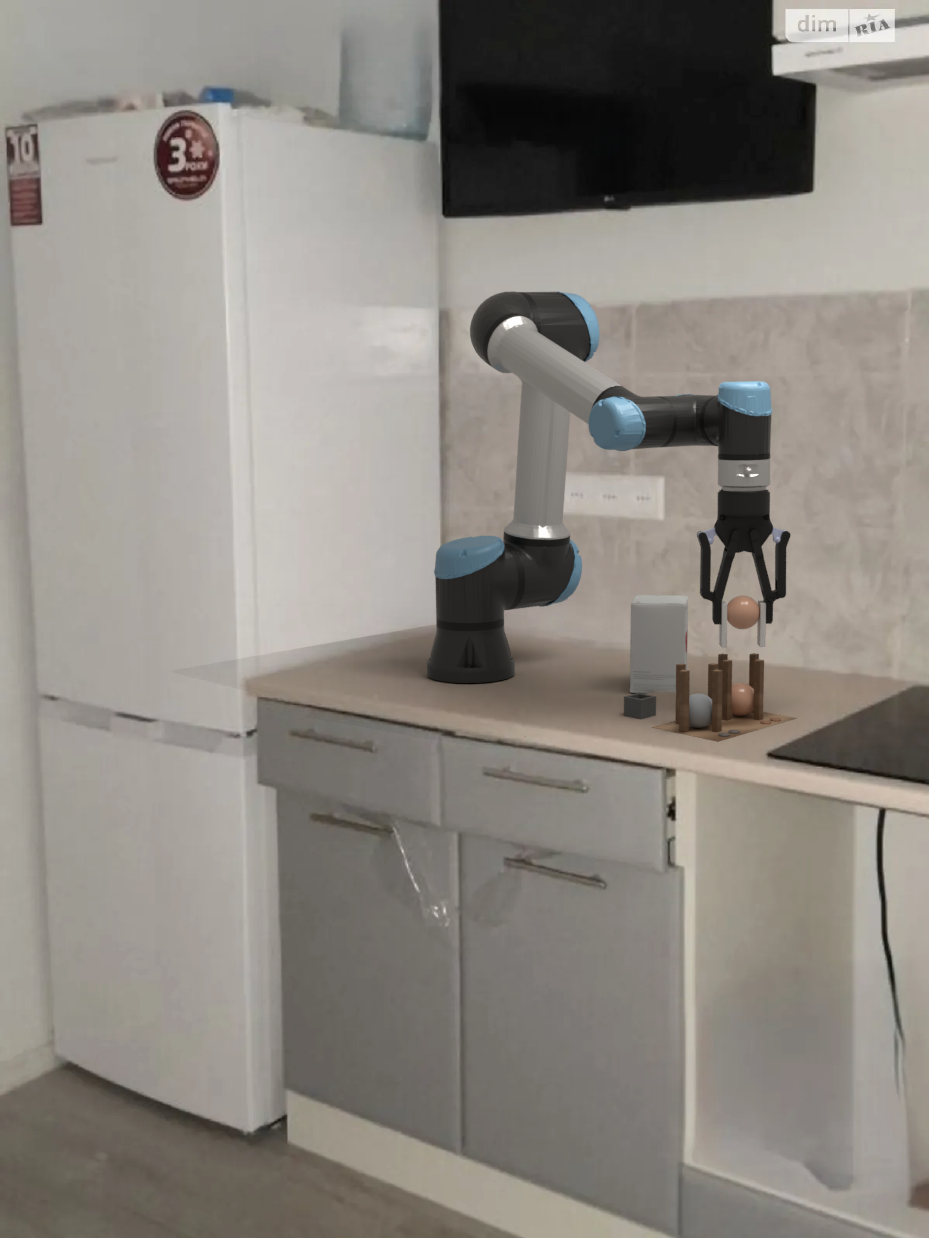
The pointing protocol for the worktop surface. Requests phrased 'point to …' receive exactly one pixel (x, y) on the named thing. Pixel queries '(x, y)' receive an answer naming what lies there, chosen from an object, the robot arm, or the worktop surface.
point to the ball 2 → (742, 699)
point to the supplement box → (657, 642)
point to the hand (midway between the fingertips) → (742, 645)
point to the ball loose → (742, 612)
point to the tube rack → (722, 702)
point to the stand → (639, 706)
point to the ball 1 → (700, 710)
